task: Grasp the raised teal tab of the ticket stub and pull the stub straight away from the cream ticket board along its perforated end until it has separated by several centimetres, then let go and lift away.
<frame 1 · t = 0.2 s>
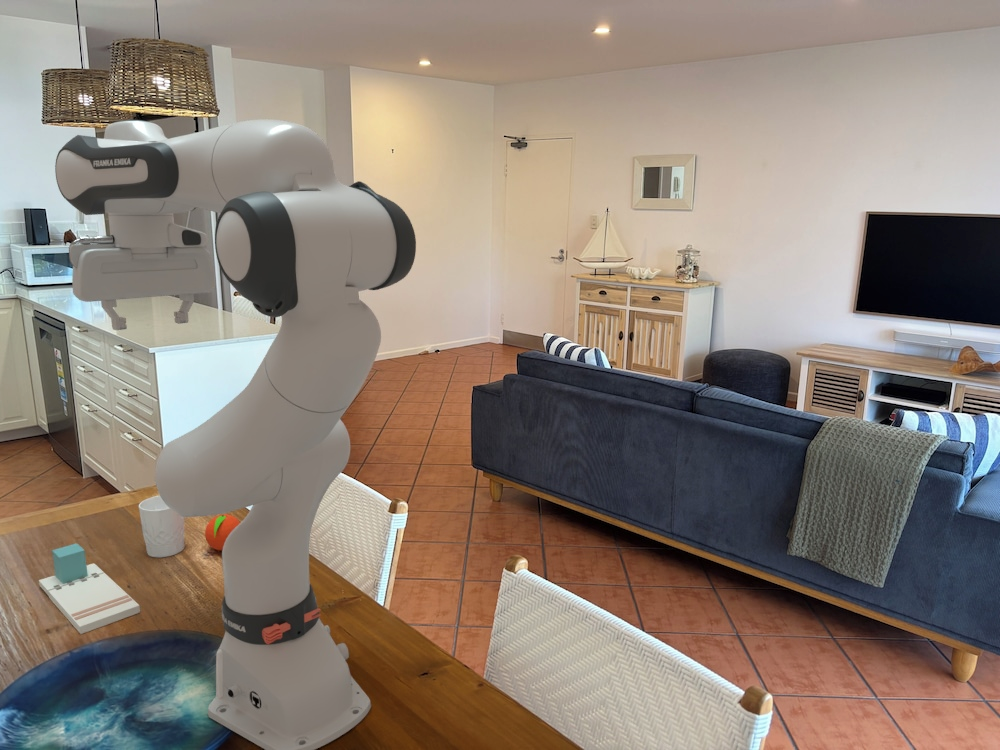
hand: (151, 326, 114), 48 cm above the table, fingers open, 8 cm apart
white cup: (165, 551, 144), on the table
stub: (70, 565, 130), point 3 cm above the table, slide at 0.0 cm
clementine: (224, 550, 144), on the table
ticket: (93, 604, 124), on the table
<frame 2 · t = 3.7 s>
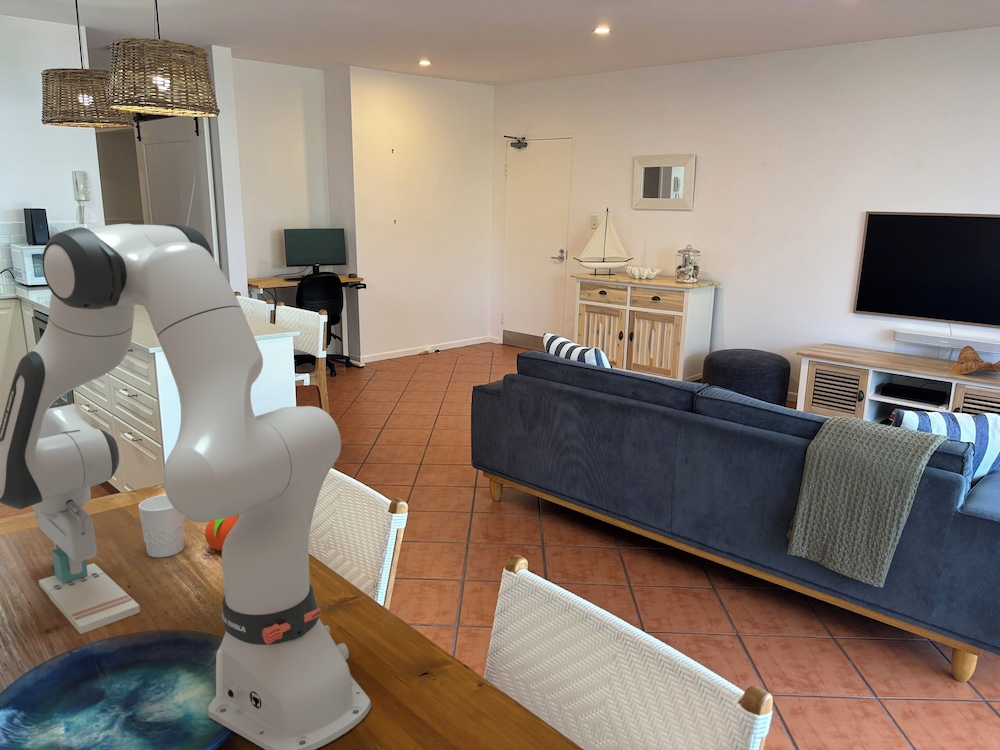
hand: (70, 566, 130), 3 cm above the table, fingers closed on stub, 4 cm apart
stub: (70, 565, 130), point 3 cm above the table, slide at 0.0 cm, touching gripper
everything else where it was.
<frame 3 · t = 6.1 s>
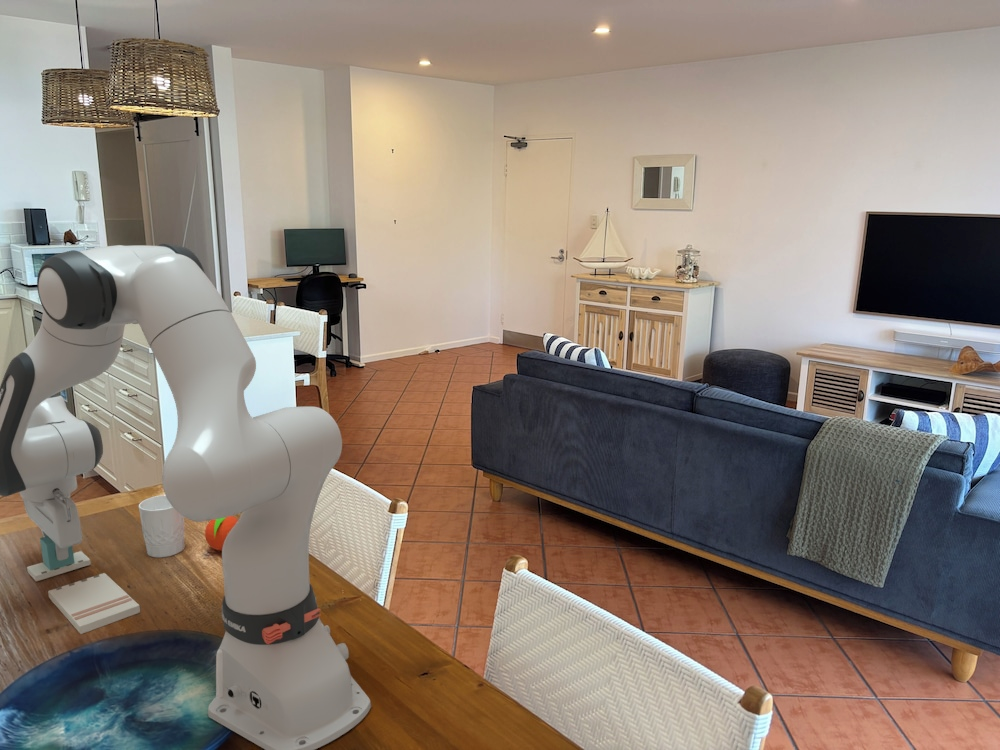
hand: (57, 553, 135), 3 cm above the table, fingers closed on stub, 4 cm apart
stub: (57, 553, 135), point 3 cm above the table, slide at 7.0 cm, touching gripper
everything else where it was.
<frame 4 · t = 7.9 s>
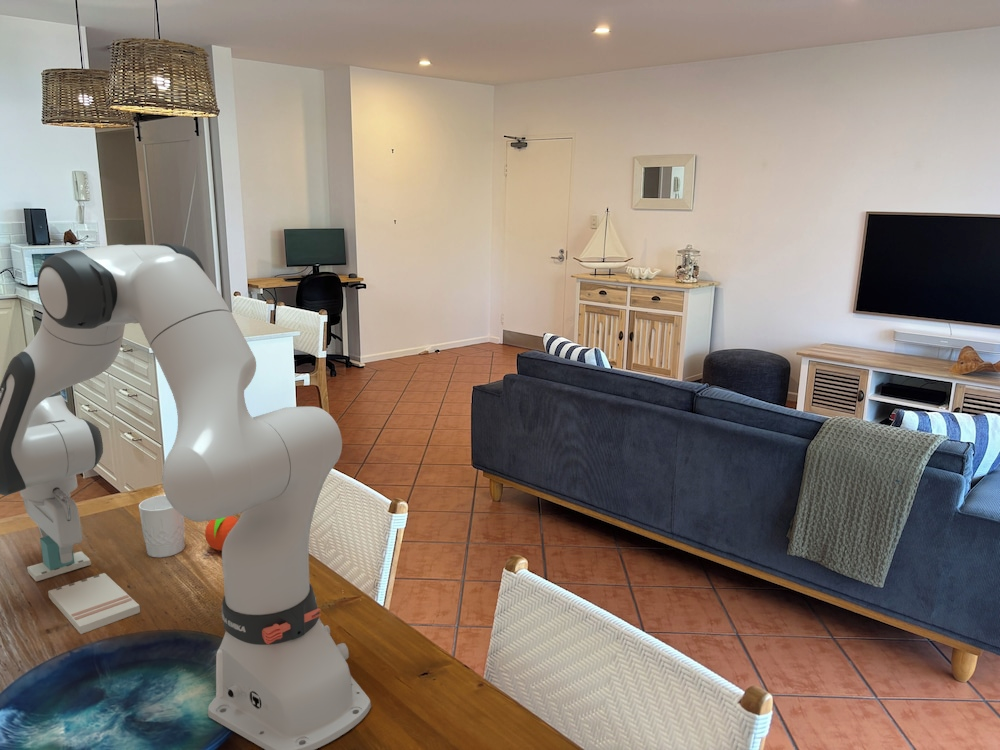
hand: (57, 552, 135), 3 cm above the table, fingers open, 8 cm apart
stub: (57, 553, 135), point 3 cm above the table, slide at 6.9 cm
everything else where it was.
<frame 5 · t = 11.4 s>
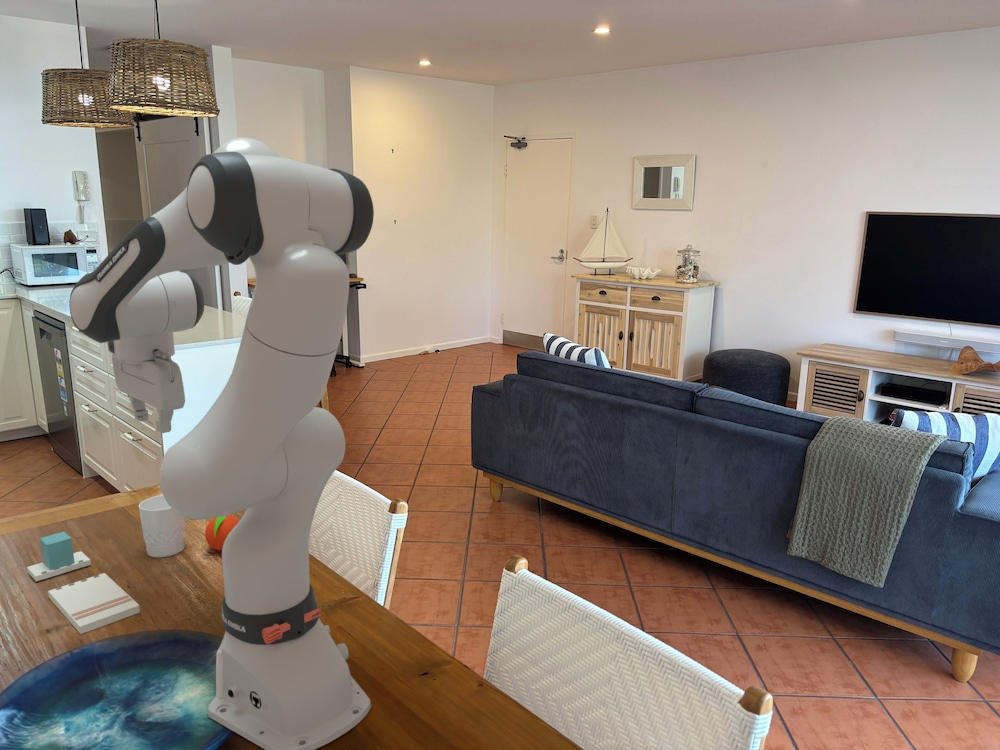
hand: (152, 425, 125), 29 cm above the table, fingers open, 8 cm apart
nothing on the table moved.
at the end: stub slide at 6.9 cm; the gripper is holding nothing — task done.
